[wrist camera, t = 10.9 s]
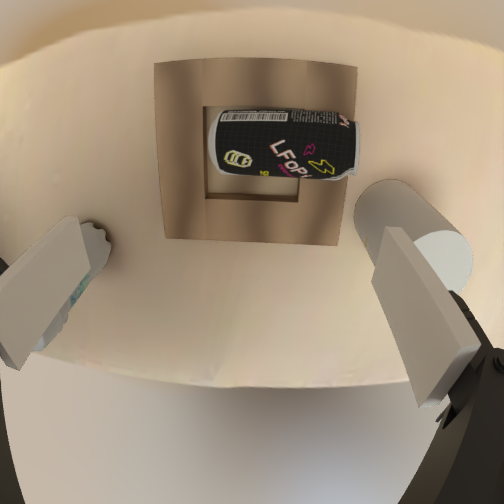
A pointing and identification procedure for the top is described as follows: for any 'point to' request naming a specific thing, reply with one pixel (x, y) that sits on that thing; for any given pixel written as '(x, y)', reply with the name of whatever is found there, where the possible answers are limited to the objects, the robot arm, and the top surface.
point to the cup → (414, 230)
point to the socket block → (244, 186)
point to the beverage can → (284, 144)
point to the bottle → (97, 258)
